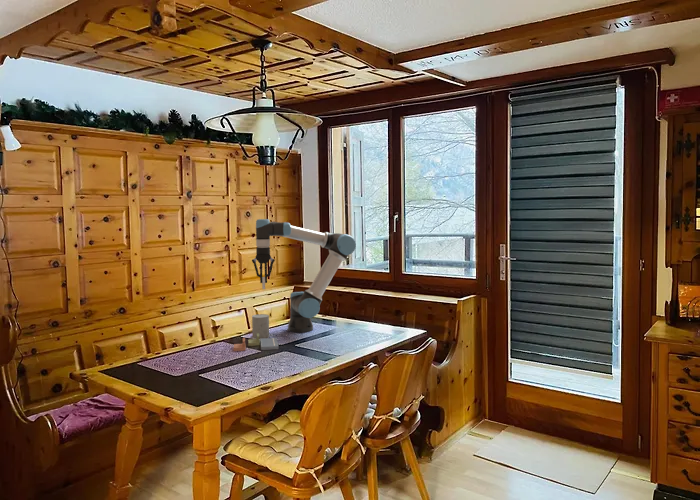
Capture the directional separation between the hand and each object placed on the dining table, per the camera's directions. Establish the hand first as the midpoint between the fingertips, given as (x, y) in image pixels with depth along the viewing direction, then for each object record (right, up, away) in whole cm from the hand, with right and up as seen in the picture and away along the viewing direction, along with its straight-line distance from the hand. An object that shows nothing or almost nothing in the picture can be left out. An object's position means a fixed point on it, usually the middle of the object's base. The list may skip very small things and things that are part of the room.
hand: (263, 288), depth 303 cm
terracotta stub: (-10, -30, -19) cm, 37 cm away
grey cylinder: (-3, -28, +6) cm, 29 cm away
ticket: (+5, -30, -12) cm, 32 cm away
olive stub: (-4, -29, -9) cm, 31 cm away
